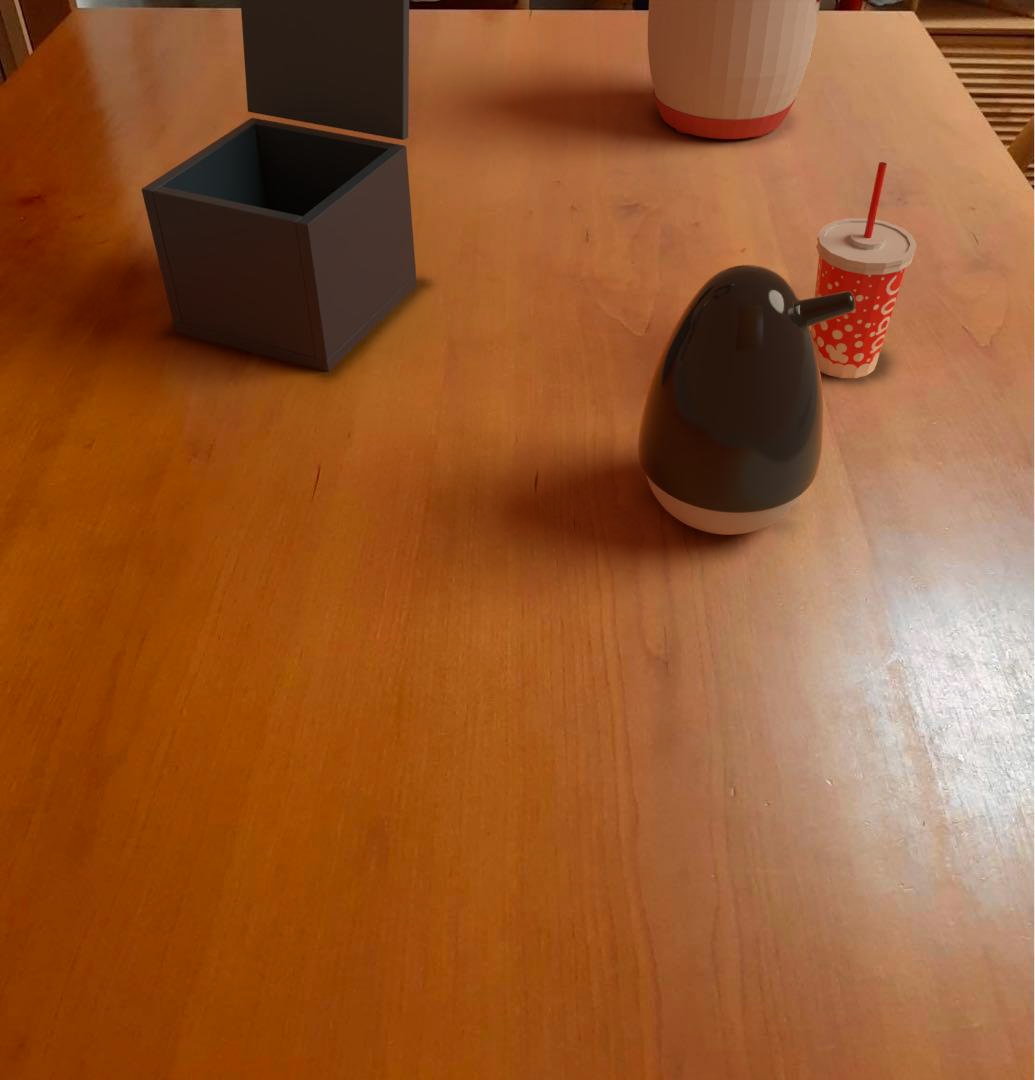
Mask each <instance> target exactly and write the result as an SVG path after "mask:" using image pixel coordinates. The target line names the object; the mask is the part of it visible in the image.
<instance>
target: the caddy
mask: <svg viewBox="0 0 1035 1080" xmlns="http://www.w3.org/2000/svg"><path fill="white" fill-rule="evenodd" d="M407 153H408V152H407V146H406V145H404V144H399V143H392V142H388V141H381V140H376V139H371V138H365V137H360V136H355V135H349V134H345V133H337V132H333V131H327V130H322V129H317V128H311V127H306V126H300V125H295V124H289V123H283V122H278V121H274V120H267V119H261V118H257V117H251V118H249V119H247V120H246V121H245V122H243V123H241V124H239V125H238V126H236V127H235V128H233V129H232V130H230V131H229V132H228V133H226V134H224V135H223V136H221V137H220V138H218V139H217V140H215V141H213V142H212V143H210V144H208V145H207V146H206V147H204V148H202V149H201V150H199V151H198V152H196V153H195V154H193V155H192V156H190V157H189V158H187V159H186V160H184V161H182V162H181V163H179V164H178V165H176V166H174V167H173V168H172V169H170V170H169V171H167V172H166V173H164V174H162V175H161V176H158V178H156V179H154V180H152V181H151V182H150V183H148V184H146V185H145V186H143V187H142V188H141V193H142V197H143V202H144V206H145V210H146V214H147V218H148V223H149V227H150V232H151V235H152V239H153V243H154V247H155V248H154V249H155V251H156V256H157V262H158V264H159V268H160V272H161V278H162V281H163V285H164V289H165V295H166V297H167V302H168V306H169V310H170V315H171V319H172V324H173V327H174V331H175V333H177V334H181V335H184V336H188V337H192V338H196V339H199V340H204V341H208V342H212V343H215V344H219V345H223V346H225V347H231V348H234V349H239V350H241V351H242V350H243V351H246V352H250V353H254V354H257V355H261V356H265V357H269V358H273V359H276V360H281V361H285V362H287V363H292V364H295V365H300V366H304V367H307V368H311V369H315V370H320V371H323V372H327V373H330V371H331V370H333V368H334V367H336V366H337V364H339V362H341V361H342V360H343V358H345V357H346V356H347V355H348V354H349V353H350V352H351V351H352V350H353V349H354V348H355V347H356V346H357V345H358V344H359V343H360V342H361V341H362V340H363V339H364V338H365V337H366V336H367V335H368V334H369V333H370V332H371V331H372V330H373V329H374V328H375V327H376V326H378V324H379V323H380V322H382V320H384V318H385V317H387V316H388V315H389V314H390V313H391V312H392V311H393V310H394V308H395V307H396V306H398V305H399V304H400V302H401V301H402V300H404V299H405V298H406V297H407V296H408V295H409V294H410V293H411V292H412V291H413V290H414V289H415V288H416V287H417V285H418V282H417V270H416V269H417V268H416V257H415V255H416V254H415V244H414V243H415V242H414V241H415V240H414V229H413V218H412V217H413V216H412V205H411V204H412V203H411V192H410V179H409V165H408V154H407Z"/></svg>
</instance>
